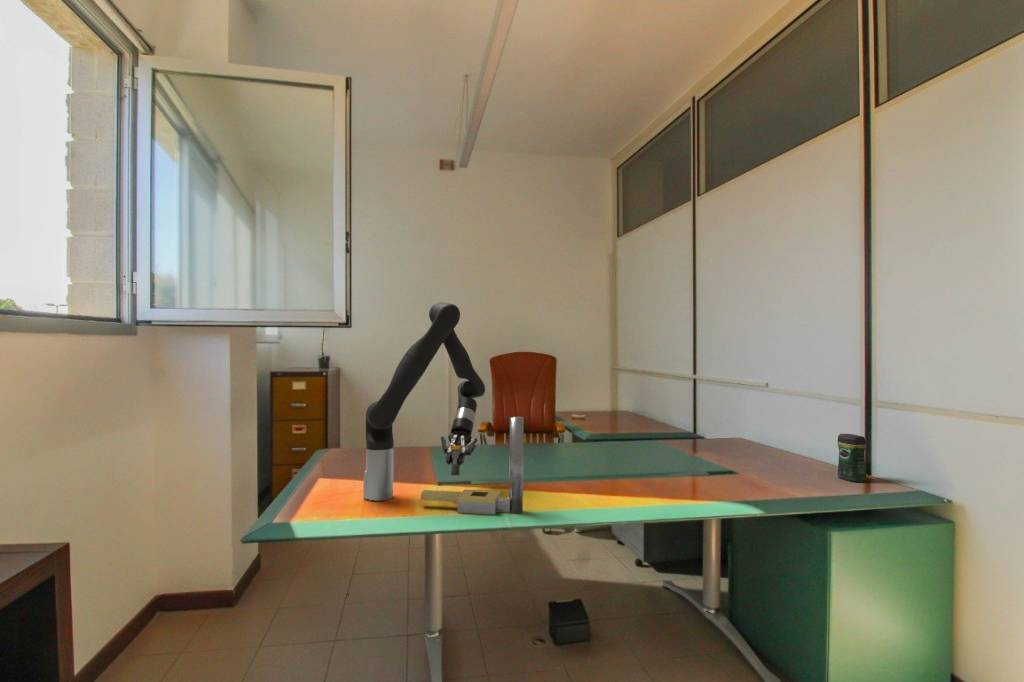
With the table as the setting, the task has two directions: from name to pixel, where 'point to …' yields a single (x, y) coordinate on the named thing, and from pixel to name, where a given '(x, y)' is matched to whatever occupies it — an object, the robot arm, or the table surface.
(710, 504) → the table surface
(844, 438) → the coffee jar
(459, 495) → the grey l-shaped piece
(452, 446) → the wedge pin
